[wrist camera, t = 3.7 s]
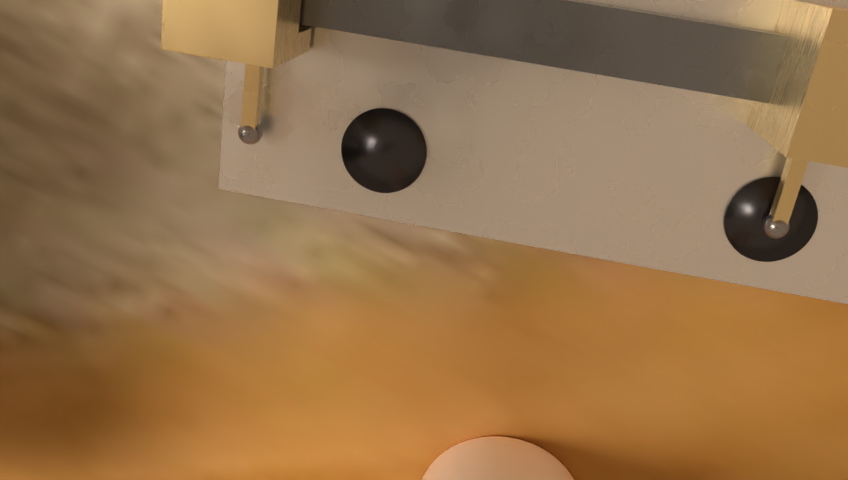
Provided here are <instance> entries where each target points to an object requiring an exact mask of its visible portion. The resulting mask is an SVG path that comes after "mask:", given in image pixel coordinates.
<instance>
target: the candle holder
mask: <svg viewBox="0 0 848 480" xmlns="http://www.w3.org/2000/svg"><path fill="white" fill-rule="evenodd" d="M422 480H574V479H573V477H572V476H571V474H570V473H569V471H568V470H567V469H566V468H565V466H564V465H563V464H562V463H561V462H560V461H559V460H558V459H557V458H555V457H554V456H553V455H552V454H550V453H549V452H547V451H546V450H544V449H542V448H540V447H538V446H536V445H534V444H532V443H529V442H526V441H523V440H520V439H516V438H510V437H502V436H488V437H479V438H474V439H470V440H467V441H464V442H461V443H459V444H457V445H454V446H453V447H451V448H449V449H447V450H446V451H445V452H443V453H442V454H441V455H439V456H438V457H437V458H436V459H435V460H434V461H433V462H432V464H431V465H430V466H429V467H428V469H427V470H426V472H425V474H424V475H423V477H422Z"/></svg>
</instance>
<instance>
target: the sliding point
mask: <svg viewBox="0 0 848 480" xmlns="http://www.w3.org/2000/svg"><path fill="white" fill-rule="evenodd" d="M300 9H301V0H163V2H162V32H161V49H163V50H169V51H174V52H180V53H186V54H192V55H197V56H203V57H209V58H215V59H221V60H226V61H232V62H238V63H244V64H245V74H244V88H243V102H242V117H241V124H240V126H239V128H238V136H239V138H240V140H241V141H242V142H244V143H245V144H249V145H252V144H255V143H257V142H259V141H260V139H261V138H262V134H263V132H262V128H261V126H260V115H261V102H262V90H263V77H264V67H267V68H275V67H277V66H279V65H281V64H283V63H285V62H287V61H290V60H292V59H294V58H296V57H298V56H300V55H302V54H304V53H306V52H308V51H309V49H310V39H311V29H312V28H307V27H301V26H299V20H300Z"/></svg>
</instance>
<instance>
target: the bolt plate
mask: <svg viewBox="0 0 848 480" xmlns="http://www.w3.org/2000/svg"><path fill="white" fill-rule="evenodd" d="M299 26H301V27H307V28H312V29H311V39H310V49H309V51H308V52H306V53H304V54H302V55H300V56H298V57H296V58H294V59H292V60H290V61H287V62H285V63H283V64H281V65H279V66H277V67H275V68H267V67H264V77H263V90H262V102H261V115H260V126H261V128H262V132H263V134H262V138H261V139H260V141H259V142H257V143H255V144H252V145H249V144H245V143H244V142H242V141H241V140H240V138H239V136H238V128H239V126H240V124H241V117H242V102H243V88H244V74H245V64H244V63H238V62H232V61H226V70H225V86H224V103H223V119H222V135H221V151H220V167H219V183H218V189H221V190H226V191H232V192H237V193H243V194H248V195H254V196H259V197H264V198H270V199H275V200H281V201H286V202H292V203H297V204H303V205H308V206H314V207H319V208H325V209H330V210H336V211H341V212H346V213H352V214H357V215H363V216H368V217H374V218H379V219H385V220H390V221H396V222H401V223H407V224H412V225H418V226H423V227H428V228H434V229H439V230H445V231H450V232H456V233H461V234H467V235H472V236H478V237H483V238H489V239H494V240H500V241H505V242H511V243H516V244H521V245H527V246H532V247H538V248H543V249H549V250H554V251H560V252H565V253H571V254H576V255H582V256H587V257H593V258H598V259H603V260H609V261H614V262H620V263H625V264H631V265H636V266H642V267H647V268H653V269H658V270H664V271H669V272H675V273H680V274H685V275H691V276H696V277H702V278H707V279H713V280H718V281H724V282H729V283H735V284H740V285H746V286H751V287H757V288H762V289H767V290H773V291H778V292H784V293H789V294H795V295H800V296H806V297H811V298H817V299H822V300H828V301H833V302H839V303H844V304H848V0H301V9H300V20H299Z"/></svg>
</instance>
